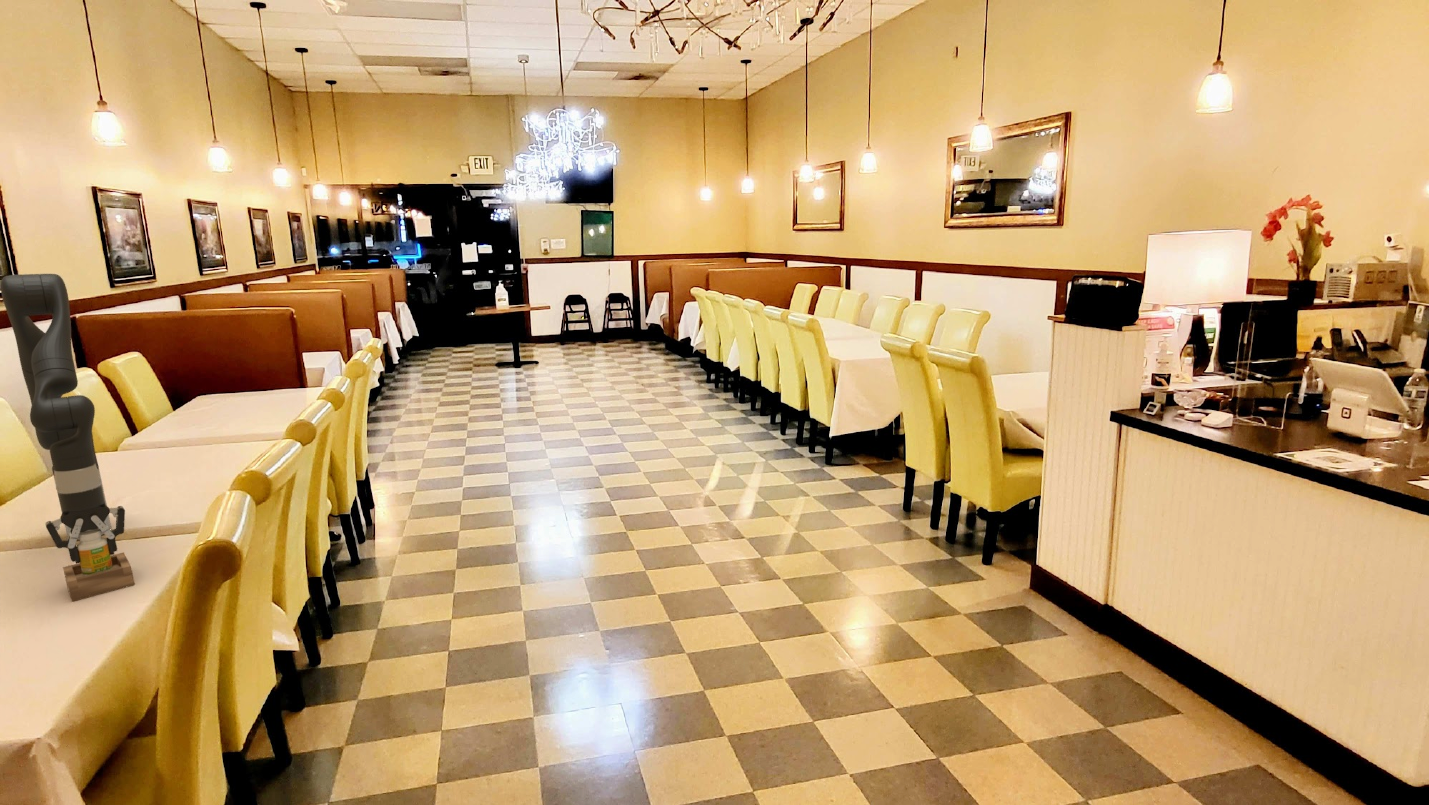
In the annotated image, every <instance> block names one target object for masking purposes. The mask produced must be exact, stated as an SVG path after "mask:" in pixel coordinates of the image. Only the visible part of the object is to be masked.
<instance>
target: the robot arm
mask: <svg viewBox="0 0 1429 805" xmlns="http://www.w3.org/2000/svg"><path fill="white" fill-rule="evenodd" d="M0 293H1V297H2V301H3V304H4V308H5V310H6V313H7V316H8V319H9V322H10V325H11V328H12V331H13V334H14V337H15V341H16V347H17V352H18V357H19V363H20V366H21V367H20V368H21V371H22V375H23V379H24V381H25V385H26V388H27V392H28V394H29V395H28V396H29V399H30V403H31V406H30V410H29V411H30V413H29V419H30V423H31V425H32V426H33V427H34V429H35V435H36V438H37V441H38V444H39V445H40V446H41V448H42V449H43V450H47V451H49V454H50V458H51V464H52V468H51V471H52V475H53V478H54V484H55V489H56V493H57V496H58V500H59V501H58V502H59V505H60V511H61V514H60V515H61V516H60V518H57V519H55V520H52V521H51V520H48V521H46V522H45V527H46V530H47V532H48V533H49V535H50V537H51V539H52V541H53V543H54V544H55V547H56V548H57V549H63V548H64V549H68V553H69V558H70V561H72V562H73V563H74V562H75V564H78V563H80V559H79V555H78V550H77V545H76V544H77V541H80V540H79V537H78V536H79V533H81V532H85V531H88V530H95V529H100V530H101V533H102V536H103V535H105V536H106V537H105V538H106V539H107V542H108V546H109V551H110V556H111V555H115V553H116V552H117V551H118V547H117V546H118V545H117V542H116V537H118V536H120V535H123V534H124V532H125V518H126V517H125V515H126V510H125V508H124V507H123V506H122V505H119V506H117V507H109V506H108V505H107V499H106V495H105V490H104V485H103V481H102V476H101V472H100V468H99V463H98V459H97V456H96V450H95V445H94V444H95V442H94V436H93V426H94V420H95V416H96V415H95V413H96V409H95V405H94V403H93V401H92V399H90V397H89V398H88V397H87V396H85V395H81V394H78V395H70V396H69V395H68V396H63V395H66V394H69V393H71V392H73V391H74V390H75V389H77V388H78V385H79V383H78V381H79V380H78V376H77V372H76V371H77V370H76V366H75V361H74V357H73V349H72V325H71V309H70V308H71V307H70V299H69V294H68V289H67V286H66V283H65V281H64V279H63V278H62V276H61V275H59V274H56V273H29V274H27V273H24V274H9V275H5V276H3V278H2V279H1V281H0ZM47 315H52V319H51V323H50V324H49V327H48V328H47V330H46V332H44V331H43V330H42V329H40V328H39V326H37V325H36V324H35V323H34V321H33V320H32V319H31V318H30V316H47ZM110 514H111V515H112V517H113V518H116V520H115V528H114V529H113V528H112V523H111V518H110ZM62 524H63V525H64V528H65V532H66V536H67V540H63V539H62V538H61V536H60V534H59V532H58V531H59V530H60V529H61V525H62ZM111 528H112V529H111ZM110 529H111V530H110Z"/></svg>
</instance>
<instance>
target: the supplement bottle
mask: <svg viewBox="0 0 1429 805" xmlns="http://www.w3.org/2000/svg"><path fill="white" fill-rule="evenodd" d="M78 537H79V540H78V541H80V542H77V545H76V547H77V550H78V555H79V559H80V565H81V570H82V574H83V576H86V575H90V574H93V573H97V572H101V571H105V570H109V569H113V565H112V560H111V555H110V551H109V546H108V542H107V539H106V538H107V537H103V535H102V533H101V530H100V529H95V530H88V531H85V532H81V533H79V536H78Z"/></svg>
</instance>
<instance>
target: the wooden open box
mask: <svg viewBox="0 0 1429 805" xmlns="http://www.w3.org/2000/svg"><path fill="white" fill-rule="evenodd" d="M110 556H111V560H112V565H113V569H109V570H105V571H101V572H97V573H93V574H90V575H86V576H83V574H82V570H81V565H80V563H77V564H76V563H75V564H71V565H68V566H67V565H66V566H62V569H63V574H64V578H65V583H66V586H67V590H68V593H69V597H70V600H71V602H75V601H80V600H83V599H86V598H90V597H94V596H98V595H101V594H105V592H106V593H109V592H112V590H113V591H116V590H115V589H117V590H120V588H121V589H124V588H127V587H126V586H128V587H130V586H131V585H132V586H134V585H133V584H136V583H135V579H134V574H133V569H132V565H131V563H130V562H129V560H128V558H127V556H126V554H125V552H123V551H122V552H120V553H114V554H113V555H110ZM132 586H131V587H132ZM123 587H124V588H123ZM108 591H109V592H108Z"/></svg>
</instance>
